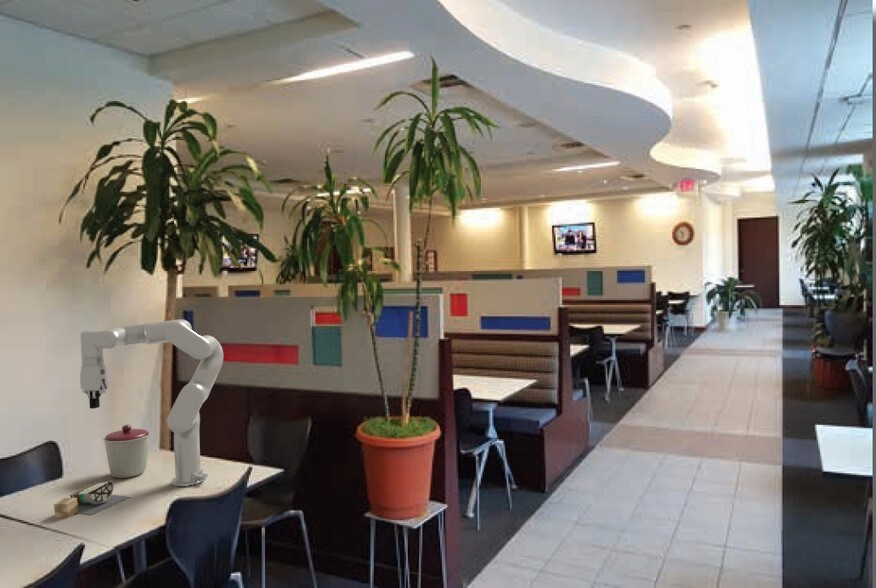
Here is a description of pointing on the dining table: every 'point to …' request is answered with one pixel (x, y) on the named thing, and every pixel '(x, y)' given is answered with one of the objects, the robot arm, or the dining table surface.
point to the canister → (127, 451)
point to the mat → (100, 505)
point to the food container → (94, 493)
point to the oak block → (66, 507)
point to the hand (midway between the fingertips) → (94, 407)
